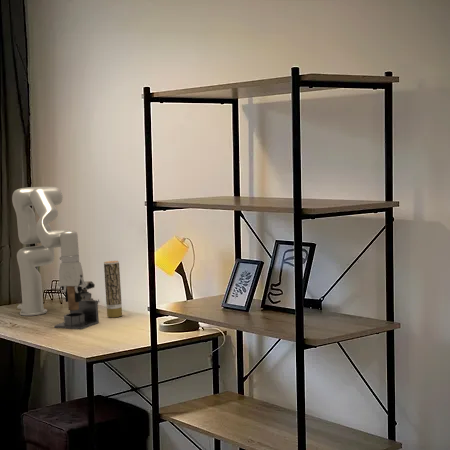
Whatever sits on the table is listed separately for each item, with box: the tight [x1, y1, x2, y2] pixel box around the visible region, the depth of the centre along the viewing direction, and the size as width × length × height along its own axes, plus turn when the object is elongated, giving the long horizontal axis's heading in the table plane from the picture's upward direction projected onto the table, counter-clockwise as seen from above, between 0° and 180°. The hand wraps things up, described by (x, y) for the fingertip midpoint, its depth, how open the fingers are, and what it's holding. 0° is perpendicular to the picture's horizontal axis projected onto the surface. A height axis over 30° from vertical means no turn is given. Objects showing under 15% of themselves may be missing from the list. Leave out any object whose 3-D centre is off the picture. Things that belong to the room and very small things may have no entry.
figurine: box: [80, 280, 100, 304], centre depth 385 cm, size 9×12×15 cm
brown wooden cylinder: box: [67, 286, 79, 311], centre depth 355 cm, size 4×4×14 cm
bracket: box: [53, 299, 99, 330], centre depth 357 cm, size 13×14×10 cm
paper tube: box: [103, 260, 123, 319], centre depth 372 cm, size 7×7×25 cm
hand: (73, 301), depth 355 cm, fingers closed on brown wooden cylinder, 4 cm apart
